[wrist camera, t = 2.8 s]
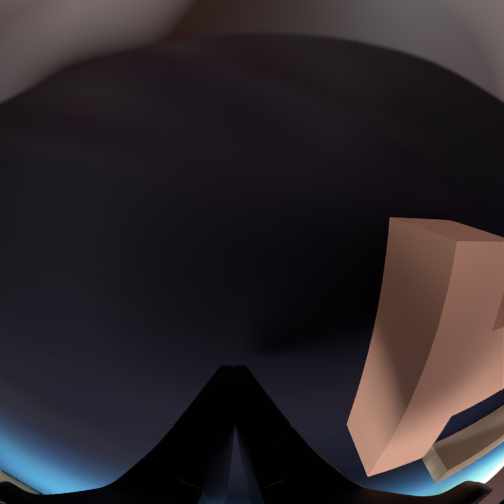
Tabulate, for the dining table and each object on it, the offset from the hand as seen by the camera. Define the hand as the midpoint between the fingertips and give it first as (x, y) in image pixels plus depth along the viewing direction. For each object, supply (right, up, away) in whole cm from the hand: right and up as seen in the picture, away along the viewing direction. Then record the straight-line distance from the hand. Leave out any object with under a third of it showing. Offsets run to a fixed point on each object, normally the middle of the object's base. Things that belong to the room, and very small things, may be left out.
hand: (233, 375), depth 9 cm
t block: (+10, +1, +2) cm, 10 cm away
